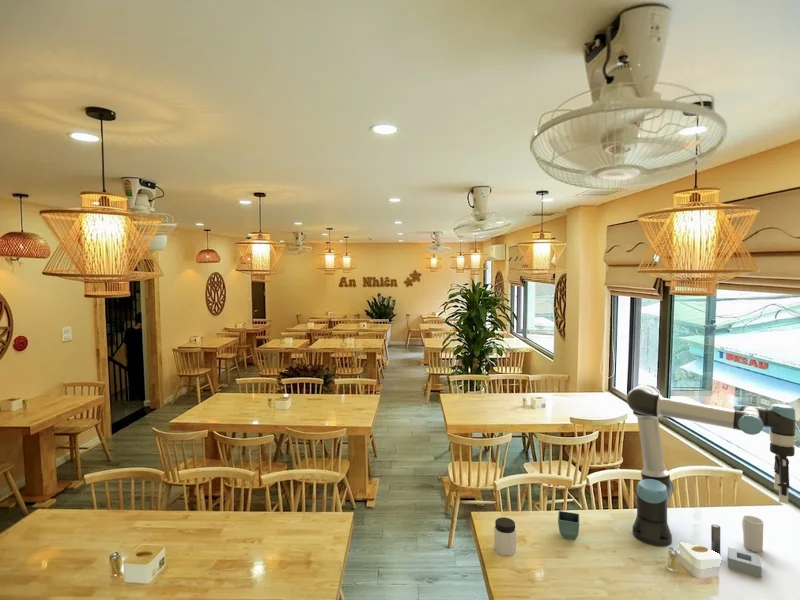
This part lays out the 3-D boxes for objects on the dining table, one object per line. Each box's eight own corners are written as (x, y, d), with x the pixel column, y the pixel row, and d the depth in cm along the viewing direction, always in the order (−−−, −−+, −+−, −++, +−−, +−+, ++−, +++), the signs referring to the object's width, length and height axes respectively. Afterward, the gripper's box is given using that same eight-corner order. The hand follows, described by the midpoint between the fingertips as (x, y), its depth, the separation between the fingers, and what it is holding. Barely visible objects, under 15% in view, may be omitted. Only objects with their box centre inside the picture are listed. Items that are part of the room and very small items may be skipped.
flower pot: (557, 539, 193) (557, 519, 192) (558, 529, 201) (558, 510, 201) (579, 544, 189) (579, 523, 189) (579, 533, 197) (579, 513, 197)
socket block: (728, 568, 172) (728, 558, 172) (727, 556, 179) (727, 547, 179) (761, 577, 166) (761, 567, 166) (759, 565, 173) (759, 555, 173)
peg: (711, 555, 180) (711, 526, 180) (711, 552, 182) (711, 523, 182) (720, 558, 178) (720, 529, 178) (720, 554, 181) (720, 525, 180)
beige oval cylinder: (767, 552, 182) (767, 524, 182) (749, 551, 183) (749, 523, 182) (751, 539, 192) (751, 512, 191) (734, 538, 193) (734, 511, 192)
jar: (519, 554, 182) (519, 525, 182) (503, 558, 179) (502, 529, 179) (507, 542, 191) (507, 515, 190) (491, 546, 188) (491, 518, 188)
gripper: (800, 455, 164) (798, 511, 165) (789, 437, 185) (788, 487, 185) (773, 451, 169) (772, 505, 169) (766, 433, 189) (765, 482, 190)
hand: (780, 496), depth 177 cm, fingers open, 13 cm apart
